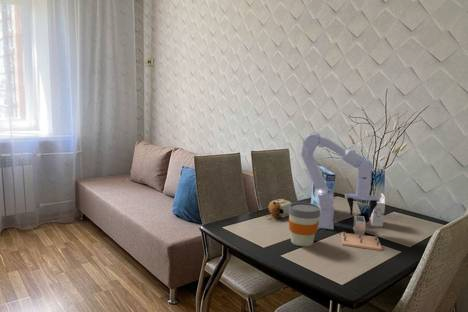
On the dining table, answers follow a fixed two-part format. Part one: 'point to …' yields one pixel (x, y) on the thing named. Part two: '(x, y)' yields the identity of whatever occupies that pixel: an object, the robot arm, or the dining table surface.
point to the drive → (359, 225)
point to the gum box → (329, 182)
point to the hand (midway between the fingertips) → (360, 215)
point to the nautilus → (279, 208)
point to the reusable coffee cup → (303, 223)
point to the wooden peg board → (360, 241)
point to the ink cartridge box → (378, 213)
